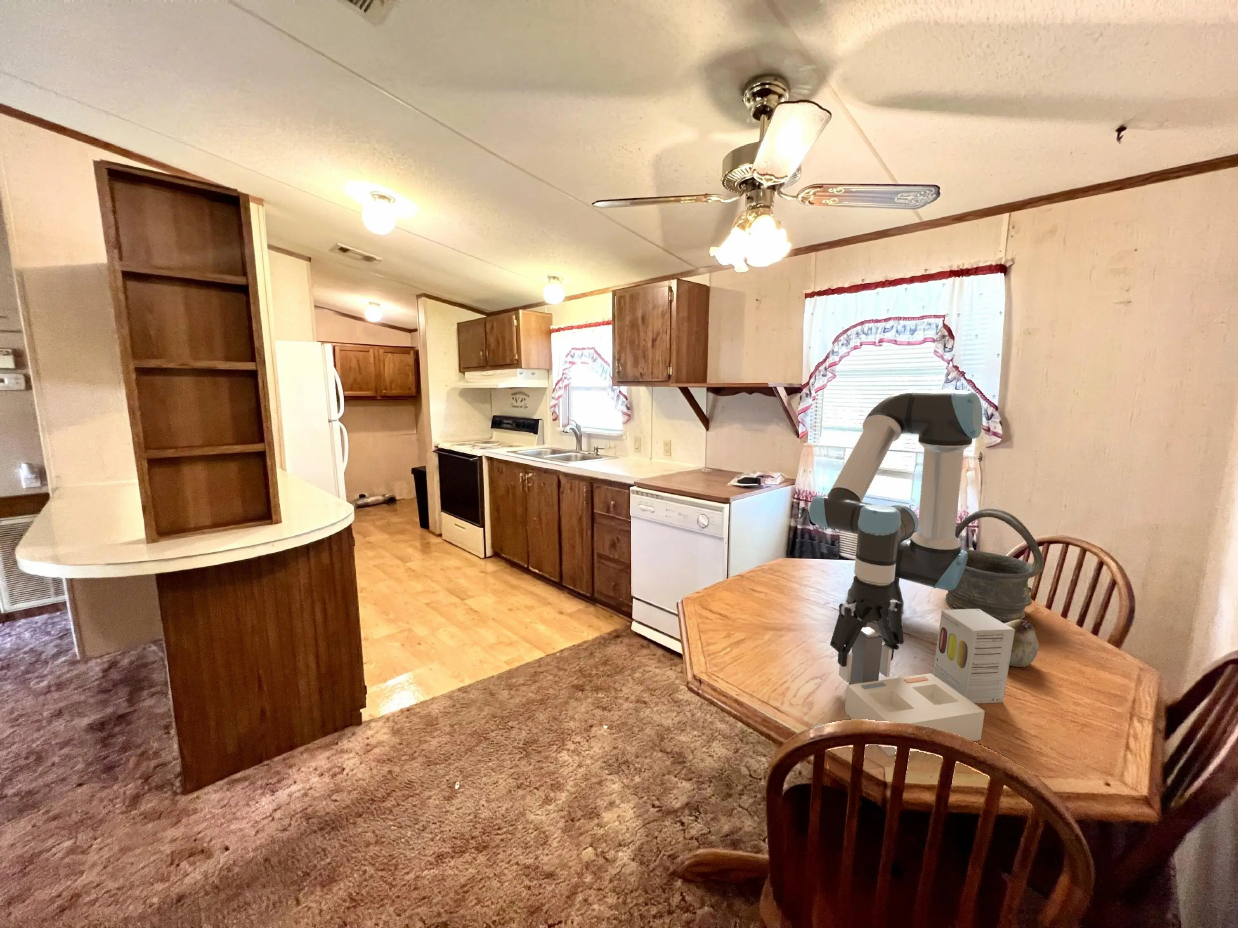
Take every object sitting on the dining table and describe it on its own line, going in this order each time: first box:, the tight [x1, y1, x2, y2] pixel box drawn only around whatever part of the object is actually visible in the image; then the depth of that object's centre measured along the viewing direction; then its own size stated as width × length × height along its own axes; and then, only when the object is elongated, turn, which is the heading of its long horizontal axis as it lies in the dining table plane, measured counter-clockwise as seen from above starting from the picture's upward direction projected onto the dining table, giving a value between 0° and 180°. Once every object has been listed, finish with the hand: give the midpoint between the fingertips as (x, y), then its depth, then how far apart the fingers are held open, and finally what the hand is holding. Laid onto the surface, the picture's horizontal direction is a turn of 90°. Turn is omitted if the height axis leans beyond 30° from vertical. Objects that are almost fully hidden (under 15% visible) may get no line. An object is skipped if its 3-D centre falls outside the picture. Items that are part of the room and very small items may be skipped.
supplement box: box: [932, 608, 1015, 705], centre depth 103 cm, size 10×9×17 cm
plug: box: [848, 626, 884, 685], centre depth 104 cm, size 4×4×14 cm
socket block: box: [844, 673, 986, 757], centre depth 93 cm, size 20×12×6 cm, turn 102°
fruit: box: [1003, 619, 1040, 668], centre depth 114 cm, size 10×9×12 cm
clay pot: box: [945, 508, 1045, 622], centre depth 141 cm, size 22×23×30 cm
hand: (863, 675), depth 104 cm, fingers open, 9 cm apart
